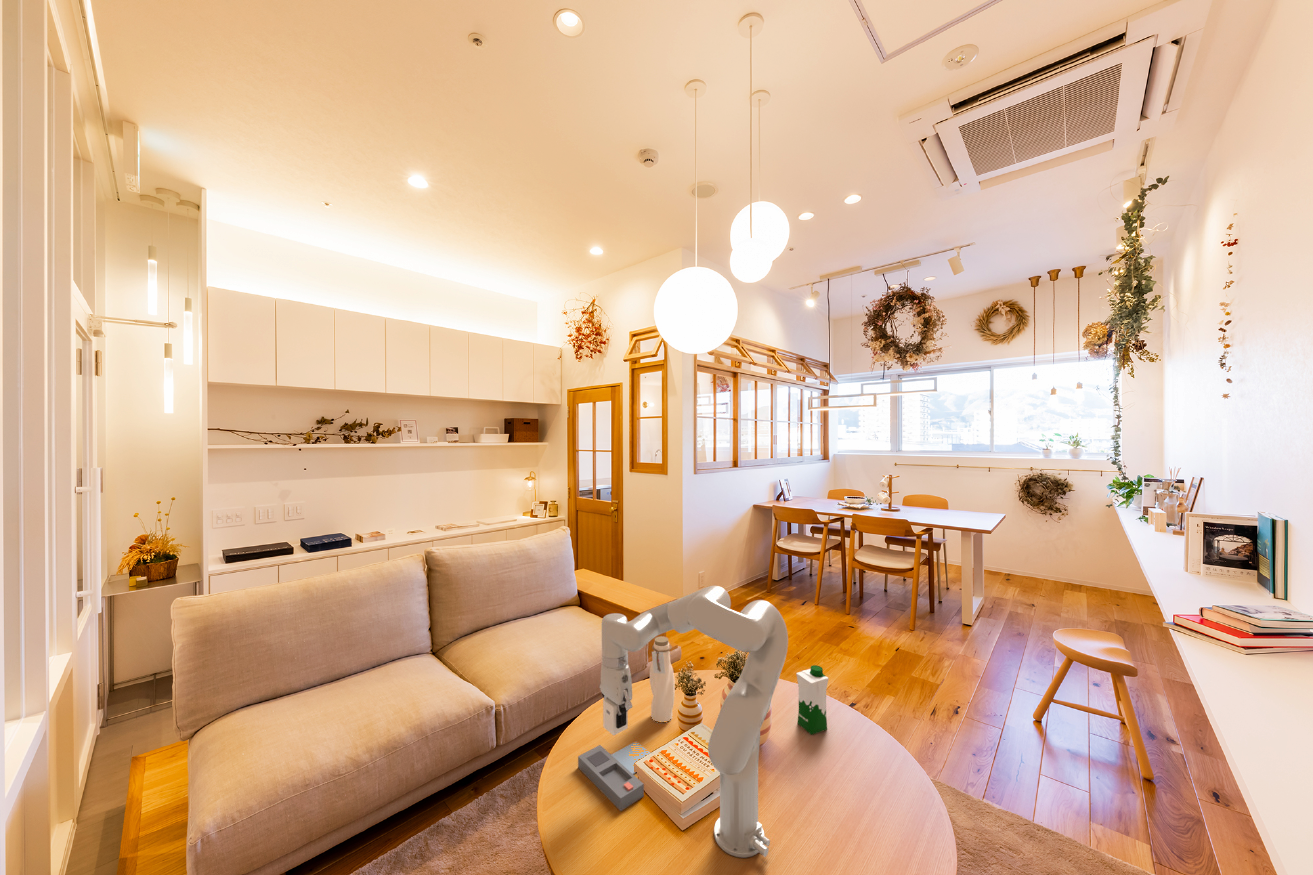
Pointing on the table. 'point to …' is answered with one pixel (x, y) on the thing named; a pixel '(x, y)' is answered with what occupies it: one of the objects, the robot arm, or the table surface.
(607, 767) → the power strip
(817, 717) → the milk carton
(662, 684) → the water bottle
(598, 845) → the table surface
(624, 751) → the coaster
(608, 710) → the block
